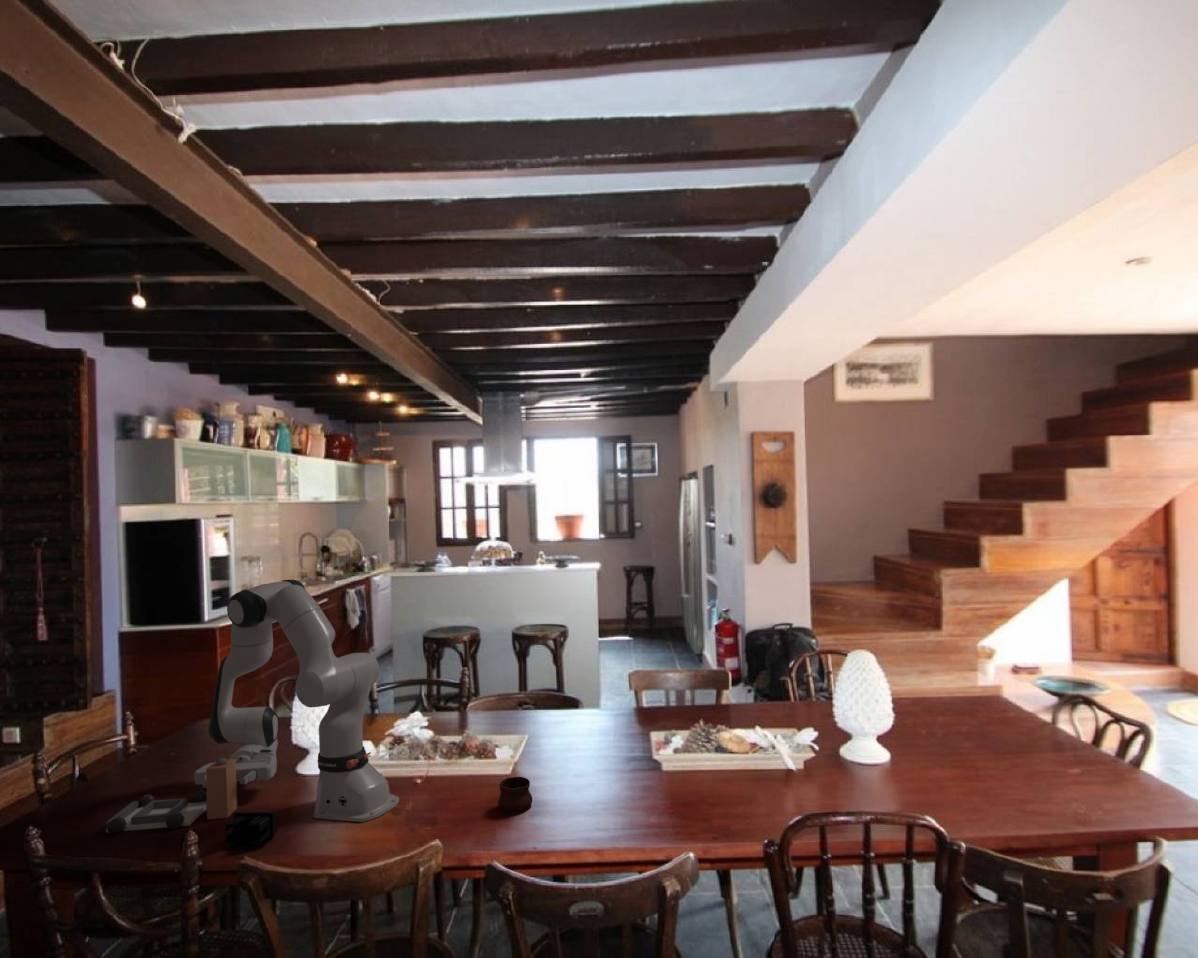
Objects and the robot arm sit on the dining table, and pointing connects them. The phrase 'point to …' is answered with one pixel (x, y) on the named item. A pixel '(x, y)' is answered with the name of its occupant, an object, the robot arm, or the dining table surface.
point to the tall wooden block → (221, 788)
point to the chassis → (158, 813)
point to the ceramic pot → (515, 795)
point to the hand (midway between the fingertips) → (224, 782)
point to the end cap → (251, 830)
